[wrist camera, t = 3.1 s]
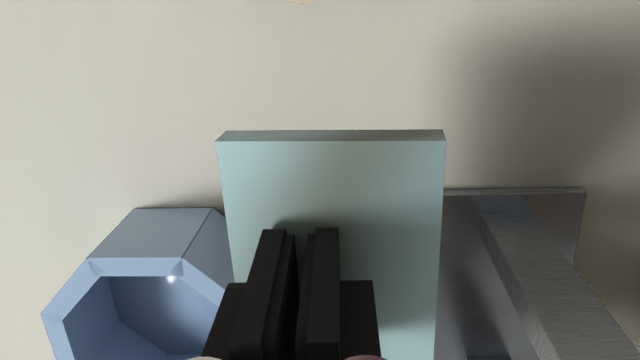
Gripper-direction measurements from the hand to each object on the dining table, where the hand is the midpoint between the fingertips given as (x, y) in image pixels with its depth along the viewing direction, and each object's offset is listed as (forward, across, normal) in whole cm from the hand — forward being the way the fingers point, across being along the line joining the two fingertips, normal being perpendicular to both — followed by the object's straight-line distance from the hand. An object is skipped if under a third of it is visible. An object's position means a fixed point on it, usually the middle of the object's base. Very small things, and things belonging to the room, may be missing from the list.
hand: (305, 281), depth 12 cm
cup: (+9, +6, +6) cm, 13 cm away
